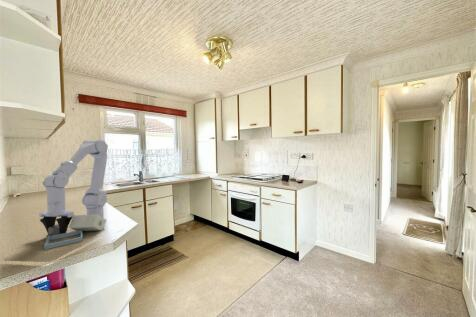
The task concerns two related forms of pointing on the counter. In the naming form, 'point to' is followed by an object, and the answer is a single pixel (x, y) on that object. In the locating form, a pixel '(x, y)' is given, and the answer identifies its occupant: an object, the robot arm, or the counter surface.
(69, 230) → the stake board
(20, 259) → the counter surface
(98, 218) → the small box
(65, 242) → the tray
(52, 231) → the dark grey block
